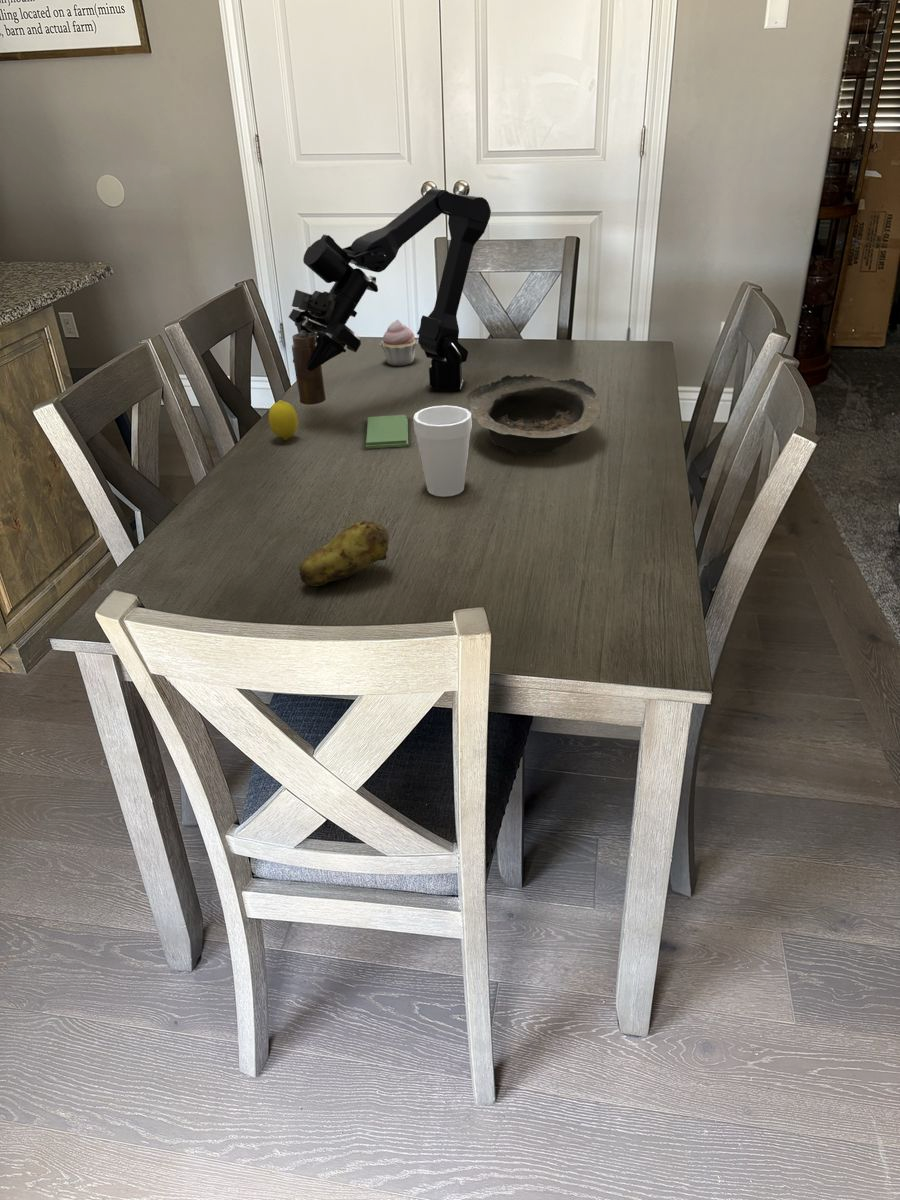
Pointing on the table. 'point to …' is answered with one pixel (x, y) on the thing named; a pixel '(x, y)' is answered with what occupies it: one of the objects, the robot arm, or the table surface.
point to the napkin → (387, 432)
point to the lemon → (283, 419)
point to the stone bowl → (534, 412)
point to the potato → (346, 553)
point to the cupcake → (399, 344)
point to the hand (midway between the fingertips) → (301, 366)
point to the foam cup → (443, 447)
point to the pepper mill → (307, 380)
